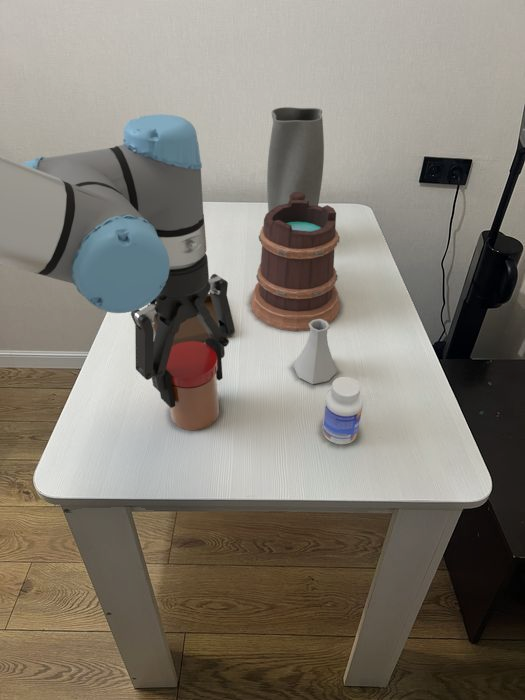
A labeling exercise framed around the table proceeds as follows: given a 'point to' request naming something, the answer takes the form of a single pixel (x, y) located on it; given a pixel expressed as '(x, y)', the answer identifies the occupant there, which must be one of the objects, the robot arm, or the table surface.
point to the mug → (297, 266)
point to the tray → (192, 327)
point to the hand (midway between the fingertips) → (192, 387)
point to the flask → (316, 355)
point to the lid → (192, 364)
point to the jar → (196, 405)
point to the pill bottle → (342, 411)
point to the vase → (295, 155)
